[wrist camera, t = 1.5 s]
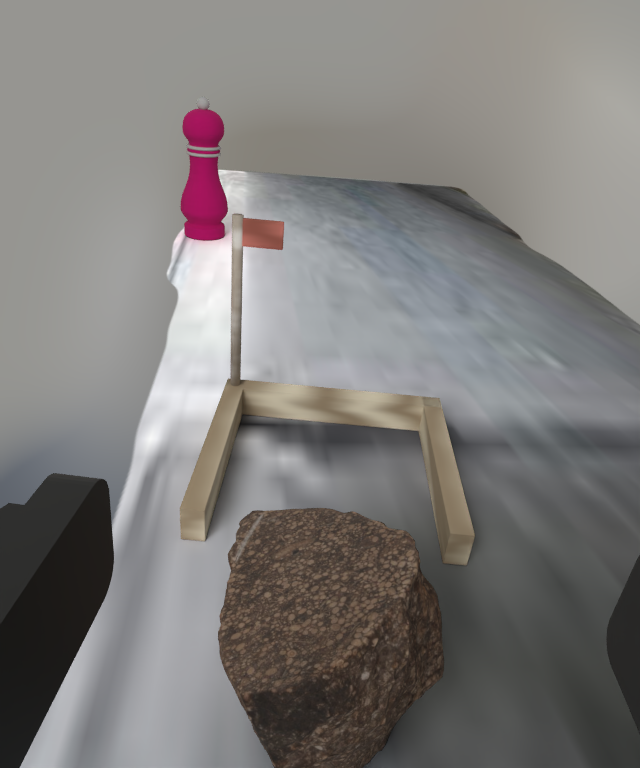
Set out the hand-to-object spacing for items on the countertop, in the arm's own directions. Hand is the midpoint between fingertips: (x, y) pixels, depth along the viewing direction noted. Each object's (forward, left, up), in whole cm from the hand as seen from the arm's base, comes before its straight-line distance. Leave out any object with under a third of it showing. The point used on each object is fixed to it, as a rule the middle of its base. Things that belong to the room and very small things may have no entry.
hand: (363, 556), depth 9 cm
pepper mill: (+21, -88, -21) cm, 93 cm away
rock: (0, -11, -21) cm, 23 cm away
